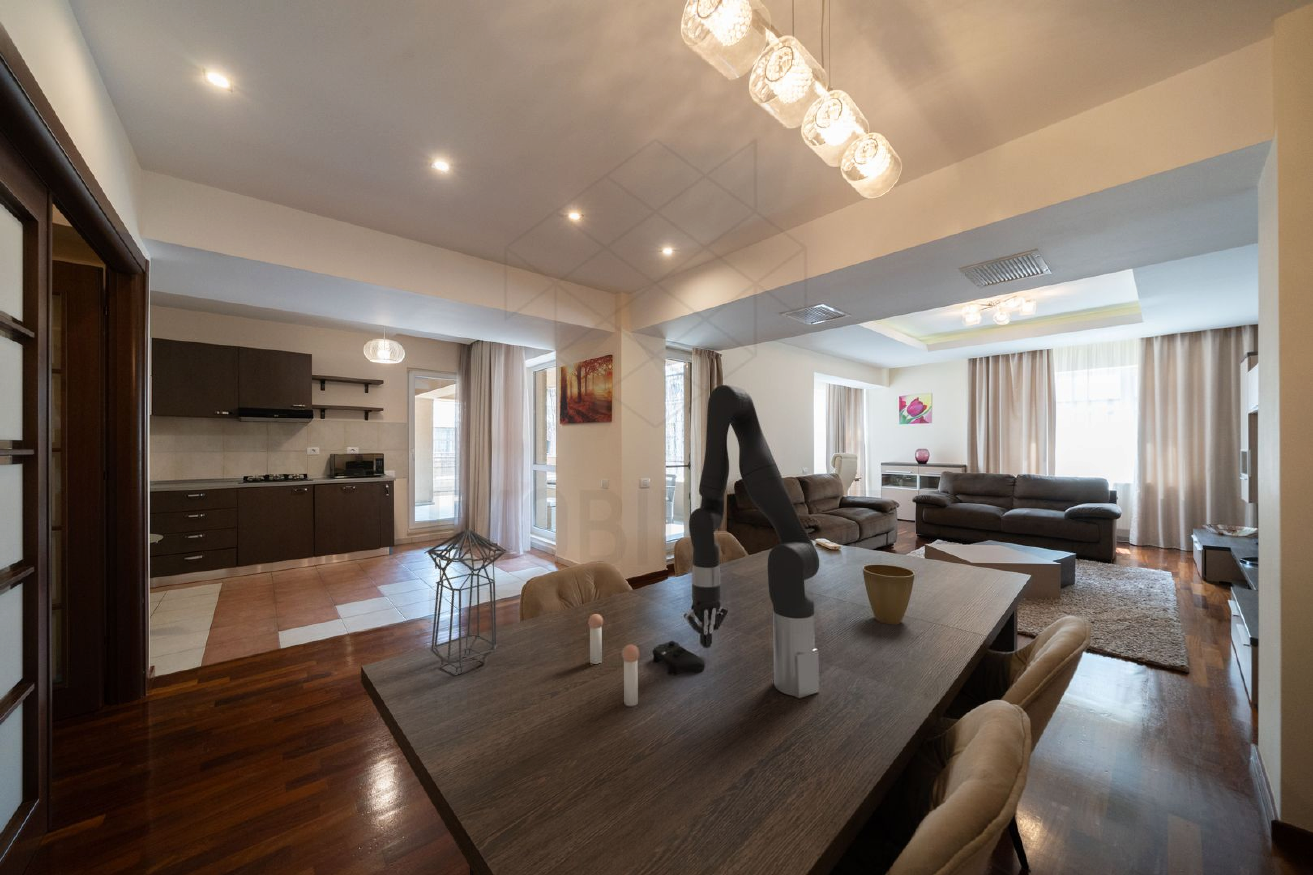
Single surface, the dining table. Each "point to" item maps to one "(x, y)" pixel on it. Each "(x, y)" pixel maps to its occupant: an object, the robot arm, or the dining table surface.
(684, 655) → the gaming controller
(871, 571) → the plant pot
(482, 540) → the geometric lantern
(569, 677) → the dining table surface
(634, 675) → the posts
